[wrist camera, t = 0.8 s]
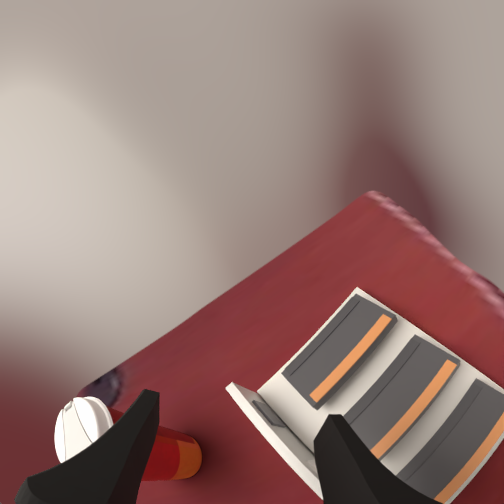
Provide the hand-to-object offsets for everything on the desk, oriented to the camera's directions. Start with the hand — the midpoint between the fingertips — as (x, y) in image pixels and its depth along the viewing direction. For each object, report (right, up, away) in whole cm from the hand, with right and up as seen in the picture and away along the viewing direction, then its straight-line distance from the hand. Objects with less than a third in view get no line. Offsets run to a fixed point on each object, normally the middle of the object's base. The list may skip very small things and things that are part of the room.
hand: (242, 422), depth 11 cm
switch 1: (+8, -1, +13) cm, 15 cm away
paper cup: (-7, -15, +15) cm, 23 cm away
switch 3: (+16, -7, +3) cm, 17 cm away
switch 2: (+12, -4, +8) cm, 15 cm away
